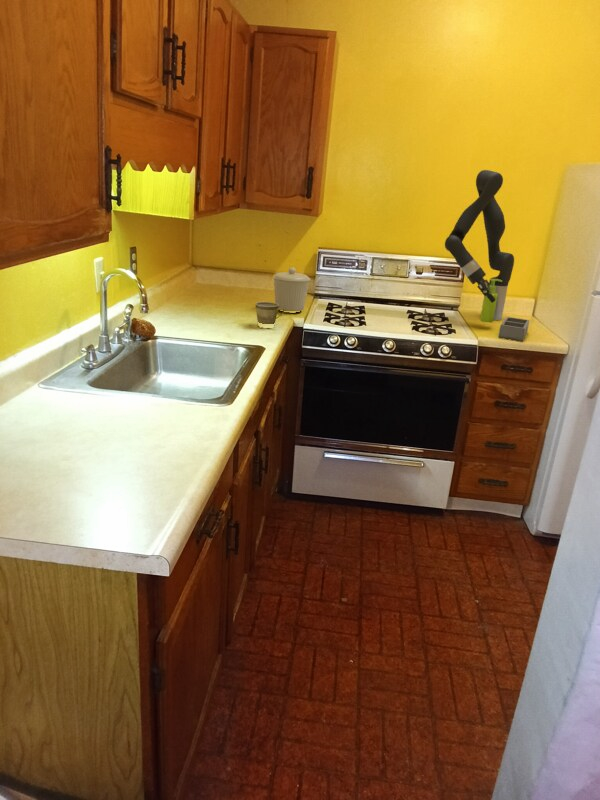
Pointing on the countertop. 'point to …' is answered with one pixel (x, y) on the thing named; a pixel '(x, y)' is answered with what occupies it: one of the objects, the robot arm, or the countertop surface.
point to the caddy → (514, 329)
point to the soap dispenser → (489, 304)
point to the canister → (291, 290)
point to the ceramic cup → (267, 312)
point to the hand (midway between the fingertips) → (494, 300)
